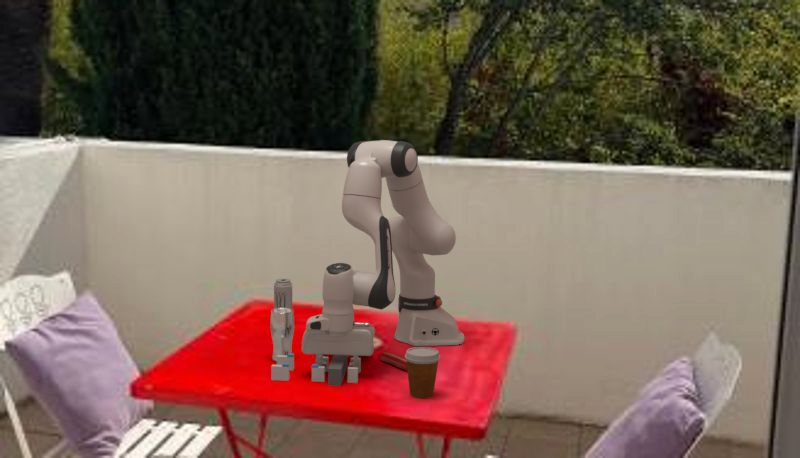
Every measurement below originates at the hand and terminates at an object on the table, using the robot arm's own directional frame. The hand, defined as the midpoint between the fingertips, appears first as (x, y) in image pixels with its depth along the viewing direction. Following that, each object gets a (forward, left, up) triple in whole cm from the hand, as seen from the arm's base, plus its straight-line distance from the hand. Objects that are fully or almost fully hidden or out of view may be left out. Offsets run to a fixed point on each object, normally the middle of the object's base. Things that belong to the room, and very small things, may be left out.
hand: (337, 369), depth 288 cm
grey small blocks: (+6, 0, -2) cm, 6 cm away
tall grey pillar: (0, 0, -2) cm, 2 cm away
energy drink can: (+24, -53, -2) cm, 58 cm away
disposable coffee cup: (-24, +13, -2) cm, 27 cm away
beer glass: (+18, -14, -2) cm, 23 cm away
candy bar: (-17, -12, -3) cm, 20 cm away
